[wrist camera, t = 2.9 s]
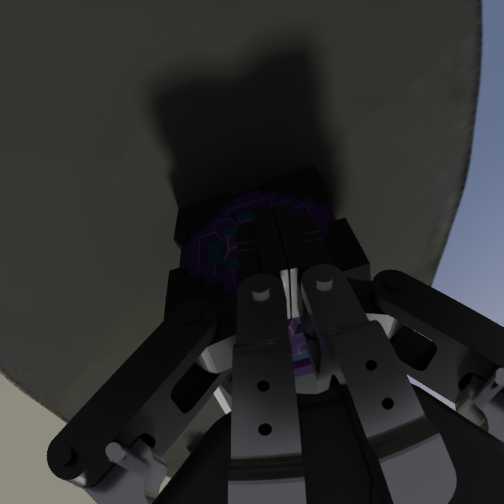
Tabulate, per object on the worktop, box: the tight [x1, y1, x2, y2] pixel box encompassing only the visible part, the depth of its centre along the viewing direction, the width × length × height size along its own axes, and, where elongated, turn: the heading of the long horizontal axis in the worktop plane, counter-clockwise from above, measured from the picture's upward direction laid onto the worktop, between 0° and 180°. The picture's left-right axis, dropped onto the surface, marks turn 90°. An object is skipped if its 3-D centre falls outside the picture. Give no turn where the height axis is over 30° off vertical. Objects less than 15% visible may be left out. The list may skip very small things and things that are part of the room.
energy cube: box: [164, 166, 371, 397], centre depth 26 cm, size 12×12×12 cm
